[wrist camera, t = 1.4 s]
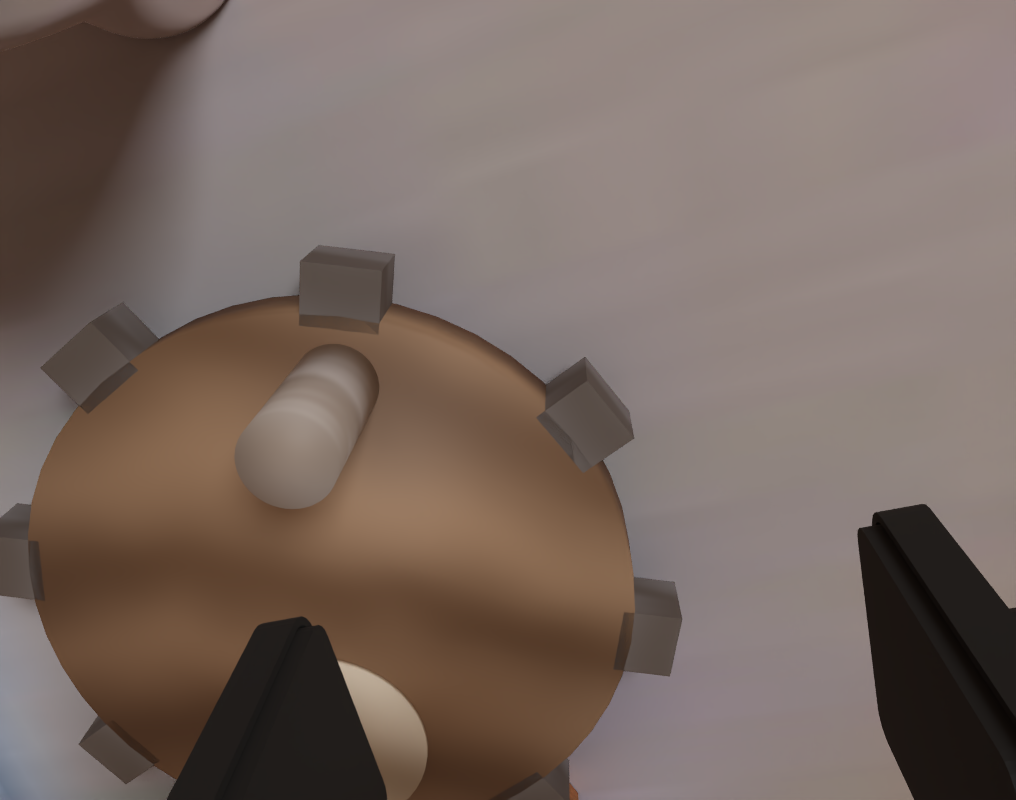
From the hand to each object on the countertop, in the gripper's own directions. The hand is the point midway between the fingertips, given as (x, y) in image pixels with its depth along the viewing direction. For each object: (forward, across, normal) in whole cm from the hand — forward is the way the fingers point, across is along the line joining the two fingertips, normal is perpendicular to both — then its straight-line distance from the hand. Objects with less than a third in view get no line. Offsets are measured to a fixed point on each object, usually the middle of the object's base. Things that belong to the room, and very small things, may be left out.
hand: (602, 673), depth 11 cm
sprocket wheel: (+16, +10, +7) cm, 20 cm away
